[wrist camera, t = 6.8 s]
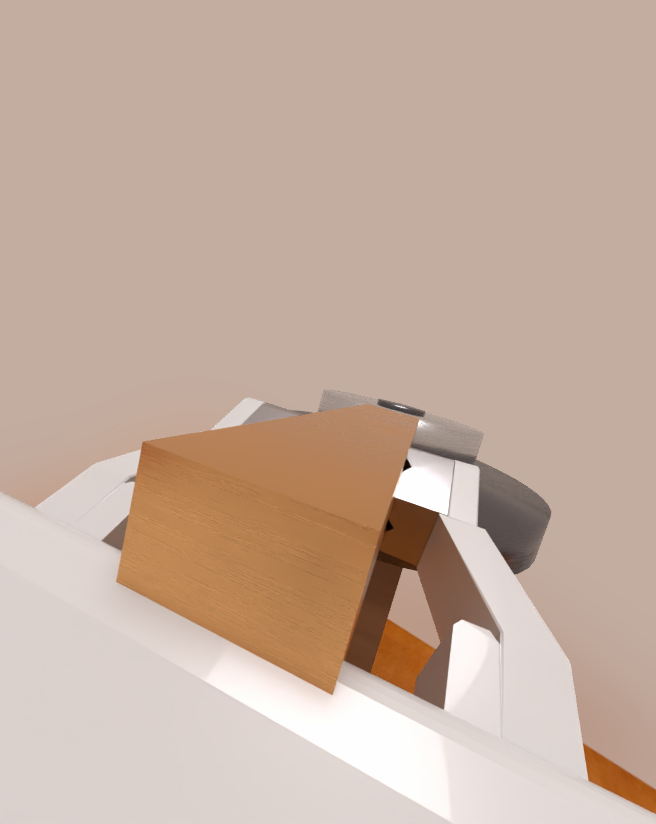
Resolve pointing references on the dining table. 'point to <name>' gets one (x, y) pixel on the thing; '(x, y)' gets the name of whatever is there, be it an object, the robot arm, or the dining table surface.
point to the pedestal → (497, 513)
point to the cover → (278, 524)
